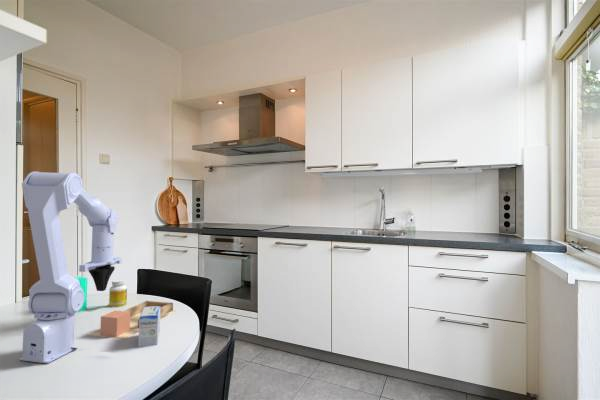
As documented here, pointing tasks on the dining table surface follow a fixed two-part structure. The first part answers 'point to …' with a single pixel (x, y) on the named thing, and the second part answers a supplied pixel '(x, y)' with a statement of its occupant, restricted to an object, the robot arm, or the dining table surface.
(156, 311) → the medicine box
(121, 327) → the block
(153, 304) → the tray
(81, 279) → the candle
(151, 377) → the dining table surface
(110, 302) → the supplement bottle
